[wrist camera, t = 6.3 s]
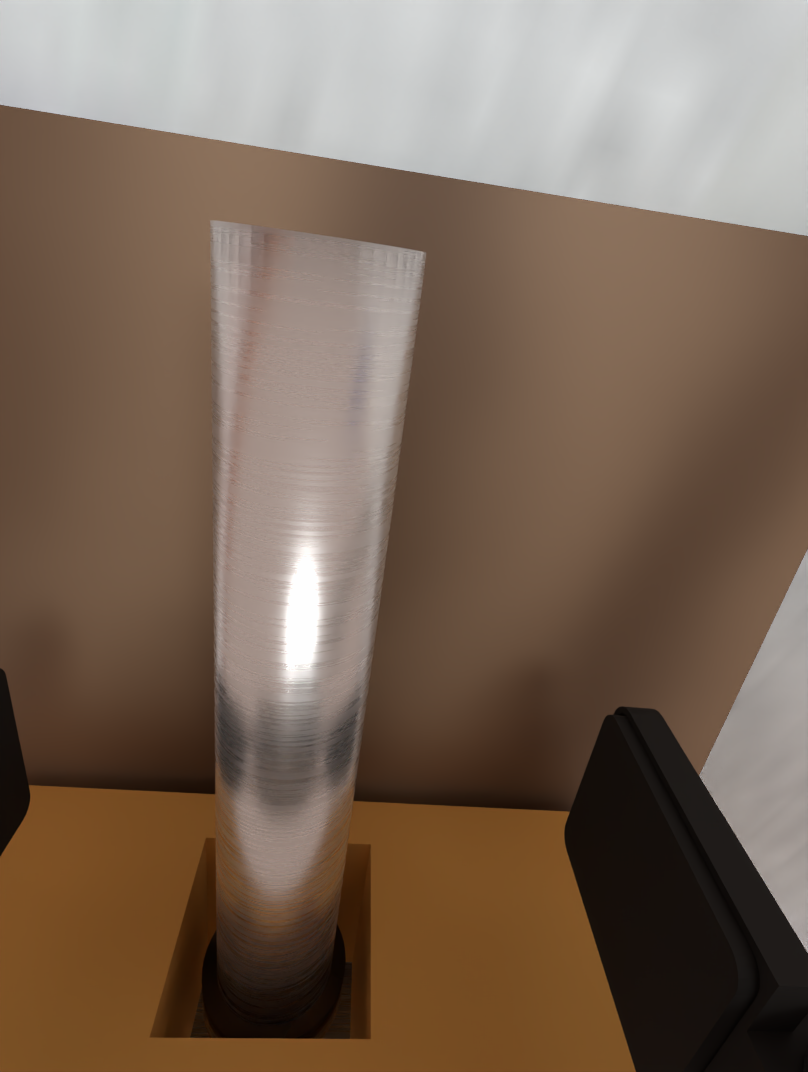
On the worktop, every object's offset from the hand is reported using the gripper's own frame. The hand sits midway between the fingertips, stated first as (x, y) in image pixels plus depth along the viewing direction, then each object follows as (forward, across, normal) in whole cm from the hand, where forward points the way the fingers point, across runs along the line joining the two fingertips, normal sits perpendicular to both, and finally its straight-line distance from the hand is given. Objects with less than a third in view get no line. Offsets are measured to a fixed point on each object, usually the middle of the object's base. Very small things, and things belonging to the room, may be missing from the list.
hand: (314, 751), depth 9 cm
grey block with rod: (+2, 0, +2) cm, 3 cm away
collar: (+2, 0, +5) cm, 6 cm away
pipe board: (+3, 0, +2) cm, 4 cm away
